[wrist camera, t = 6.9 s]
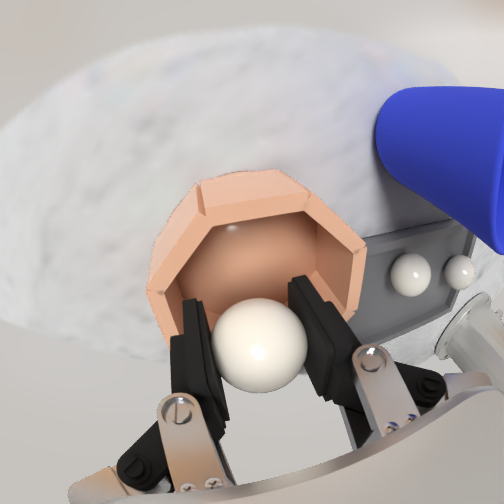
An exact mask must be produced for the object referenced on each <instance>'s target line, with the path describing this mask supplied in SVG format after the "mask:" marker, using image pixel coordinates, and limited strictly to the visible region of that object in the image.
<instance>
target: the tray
mask: <svg viewBox="0 0 504 504" xmlns="http://www.w3.org/2000/svg"><path fill="white" fill-rule="evenodd" d="M476 238H477V236H476V235H474V234H473V233H472V232H471V231H469V230H468V229H467V228H465V227H464V226H463V225H461V224H460V223H459V222H457V221H456V220H455V219H450V220H445V221H441V222H436V223H431V224H427V225H422V226H417V227H413V228H408V229H403V230H399V231H394V232H389V233H384V234H380V235H375V236H370V237H365V238H361V239H362V240H363V241H364V242H365V243H366V244H365V246H366V247H367V253H366V261H365V268H364V274H363V281H362V287H361V293H360V298H359V304H358V309H357V310H354V312H355V314H354V315H353V316H352V317H351V318H350V319H349V320H348V321H347V324H348V325H349V327H350V328H351V330H352V331H353V333H354V334H355V336H356V337H357V338H358V340H359V341H360V343H361V344H362V346H363V345H366V344H375V345H380V344H382V343H385V342H387V341H390V340H392V339H394V338H397V337H399V336H401V335H403V334H406V333H408V332H410V331H412V330H414V329H417V328H419V327H421V326H423V325H425V324H427V323H429V322H431V321H433V320H435V319H437V318H439V317H441V316H443V315H445V314H447V313H449V312H450V311H452V308H453V306H454V303H455V301H456V299H457V296H458V293H459V291H460V290H456V289H453V288H452V287H450V286H449V285H448V283H447V281H446V279H445V267H446V264H447V262H448V261H449V260H450V259H451V258H452V257H454V256H456V255H465V256H467V257H468V258H470V259H471V255H472V252H473V249H474V245H475V241H476ZM406 253H417V254H419V255H421V256H423V257H424V258H425V259H426V260H427V262H428V263H429V265H430V269H431V280H430V283H429V285H428V287H427V288H426V290H425V291H424V292H423V293H421V294H420V295H417V296H414V297H407V296H403V295H401V294H400V293H398V292H397V291H396V290H395V288H394V287H393V285H392V282H391V268H392V266H393V264H394V262H395V261H396V259H397V258H399V257H400V256H401V255H403V254H406Z"/></svg>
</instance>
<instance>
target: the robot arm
mask: <svg viewBox="0 0 504 504" xmlns="http://www.w3.org/2000/svg"><path fill="white" fill-rule="evenodd" d="M182 306H183V327H184V334H180V335H175V336H171V337H170V366H171V389H172V394H171V395H168V396H167V397H165V398H164V399H163V400H162V401H161V402H160V403H159V405H158V408H157V419H158V420H157V421H156V422H155V423H154V424H153V425H152V426H151V427H150V428H149V429H148V430H147V431H146V433H144V434H143V435H142V436H141V437H140V438H139V439H138V440H137V441H136V442H135V443H134V444H133V445H132V446H131V447H130V448H129V449H128V450H127V451H126V452H125V453H124V454H123V455H122V456H121V457H120V459H119V460H118V463H117V465H116V466H114V467H110V466H108V467H107V468H105V469H103V470H101V471H99V472H97V473H95V474H93V475H91V476H89V477H86V478H84V479H82V480H80V481H78V482H75V483H74V484H72V485H71V486H70V488H69V490H68V498H69V502H70V504H504V324H503V323H502V322H501V320H502V319H501V318H500V317H502V314H503V312H502V311H501V310H498V311H496V312H494V311H493V310H492V309H491V308H490V306H491V298H490V296H489V295H488V294H486V293H481V294H479V295H477V296H475V297H474V298H473V299H472V300H470V301H469V302H468V303H467V304H466V305H465V306H464V307H463V308H462V309H461V310H460V312H459V313H458V314H457V315H456V316H455V318H454V319H453V320H452V321H451V323H450V324H449V326H448V327H447V328H446V330H445V331H444V333H443V335H442V336H441V338H440V340H439V342H438V344H437V347H436V355H437V357H438V358H439V359H440V360H444V359H448V358H450V357H451V358H452V359H453V361H454V362H455V363H456V364H457V365H458V367H459V368H460V369H461V370H462V372H463V373H451V374H445V375H444V376H441V375H440V374H439V373H437V372H435V371H432V370H427V369H423V368H419V367H415V366H411V365H407V364H403V363H399V362H395V361H393V359H392V357H391V356H390V354H389V353H388V351H387V350H386V349H384V348H383V347H381V346H379V345H375V344H366V345H363V346H362V344H361V343H360V341H359V340H358V338H357V337H356V336H355V334H354V333H353V331H352V330H351V328H350V327H349V325H348V324H347V322H346V321H345V320H344V318H343V317H342V315H341V314H340V312H339V311H338V310H337V308H336V307H335V305H334V304H333V303H332V302H331V301H326V302H324V300H323V299H322V297H321V296H320V294H319V293H318V291H317V290H316V288H315V287H314V285H313V284H312V283H311V281H310V280H309V278H308V277H307V276H306V275H301V276H297V277H293V278H292V279H291V282H288V308H290V309H291V310H292V311H293V312H294V313H295V314H296V315H297V316H298V318H299V319H300V321H301V322H302V324H303V326H304V329H305V332H306V335H307V341H308V350H307V356H306V359H305V362H304V367H305V369H306V371H307V373H308V375H309V378H310V379H311V382H312V384H313V386H314V388H315V390H316V393H317V395H318V396H319V397H320V396H323V398H324V400H325V402H326V401H329V400H333V402H334V404H337V405H339V407H340V411H341V414H342V417H343V420H344V423H345V426H346V430H347V432H348V436H349V439H350V442H351V446H352V449H353V451H352V452H350V453H347V454H345V455H343V456H340V457H338V458H335V459H332V460H329V461H327V462H324V463H321V464H319V465H315V466H312V467H309V468H306V469H303V470H300V471H297V472H293V473H290V474H286V475H282V476H279V477H275V478H271V479H267V480H262V481H258V482H253V483H248V484H243V485H237V483H236V481H235V478H234V476H233V474H232V471H231V469H230V466H229V464H228V462H227V459H226V456H225V454H224V452H223V449H222V446H221V444H220V441H219V440H220V439H221V438H222V436H223V435H224V434H225V431H224V428H226V424H225V421H229V420H230V418H229V413H228V408H227V404H226V399H225V394H224V390H223V385H222V380H221V375H220V374H219V373H218V371H217V369H216V366H215V362H214V359H213V354H212V349H211V344H210V338H211V331H210V327H209V324H208V320H207V316H206V313H205V309H204V305H203V302H202V301H197V299H196V298H193V299H187V300H183V301H182ZM174 491H176V493H173V492H174Z"/></svg>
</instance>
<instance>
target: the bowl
mask: <svg viewBox="0 0 504 504" xmlns="http://www.w3.org/2000/svg"><path fill="white" fill-rule="evenodd" d="M365 244H366V243H365V242H364V241H363V240H362V239H361V238H360V237H359V236H358V235H357V234H356V233H355V232H354V231H353V230H352V229H351V228H350V227H349V226H348V225H347V224H346V223H345V222H344V221H343V220H342V219H341V218H340V217H339V216H338V215H336V214H335V213H334V212H333V211H332V210H331V209H330V208H329V207H328V206H327V205H326V204H325V203H324V202H322V201H321V200H320V199H319V198H318V197H317V196H316V195H315V194H314V193H312V192H311V191H309V190H308V189H307V188H305V187H304V186H302V185H301V184H300V183H298V182H297V181H295V180H294V179H292V178H291V177H289V176H288V175H286V174H285V173H283V172H282V171H278V170H276V169H270V170H263V171H238V172H233V173H228V174H224V175H221V176H218V177H216V178H210V179H205V180H200V186H199V185H197V184H196V183H195V184H194V186H193V187H192V188H191V190H190V191H189V193H188V194H187V195H186V197H185V198H184V199H183V200H182V201H181V202H180V203H179V204H178V206H177V207H176V208H175V209H174V211H173V213H172V214H171V216H170V218H169V220H168V222H167V224H166V226H165V227H164V229H163V230H162V232H161V233H160V235H159V236H158V238H157V239H156V241H155V243H154V248H153V253H152V258H151V263H150V268H149V274H148V280H147V286H146V295H147V298H148V300H149V303H150V305H151V308H152V310H153V313H154V315H155V318H156V320H157V322H158V325H159V327H160V329H161V332H162V334H163V336H164V339H165V341H166V343H167V345H168V347H169V350H170V337H171V336H175V335H180V334H184V327H183V306H182V301H183V300H187V299H193V298H196V299H197V301H202V302H203V305H204V309H205V313H206V316H207V320H208V324H209V327H210V331H211V334H212V331H213V328H214V326H215V324H216V322H217V320H218V319H219V317H220V316H221V315H222V314H223V313H224V312H225V311H226V310H227V309H228V308H230V307H231V306H233V305H234V304H236V303H238V302H241V301H244V300H247V299H252V298H265V299H271V300H275V301H277V302H279V303H282V304H284V305H285V306H287V307H288V282H291V279H292V278H293V277H297V276H301V275H306V276H307V277H308V278H309V280H310V281H311V283H312V284H313V285H314V287H315V288H316V290H317V291H318V293H319V294H320V296H321V297H322V299H323V300H324V302H326V301H331V302H332V303H333V304H334V305H335V307H336V308H337V310H338V311H339V312H340V314H341V315H342V317H343V318H344V320H345V321H346V322H347V321H348V320H349V319H350V318H351V317H352V316H353V315H354V314H355V312H354V310H357V309H358V304H359V298H360V293H361V287H362V281H363V274H364V268H365V261H366V253H367V247H366V246H365Z"/></svg>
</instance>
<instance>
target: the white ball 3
mask: <svg viewBox="0 0 504 504" xmlns="http://www.w3.org/2000/svg"><path fill="white" fill-rule="evenodd" d="M474 277H475V267H474V264H473V262H472V261H471V259H470V258H468V257H467V256H465V255H456V256H454V257H452V258H451V259H450V260H449V261H448V262H447V264H446V267H445V279H446V281H447V283H448V285H449V286H450V287H452V288H453V289H456V290H463V289H466V288H467V287H469V286H470V285H471V283H472V282H473V280H474Z"/></svg>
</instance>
